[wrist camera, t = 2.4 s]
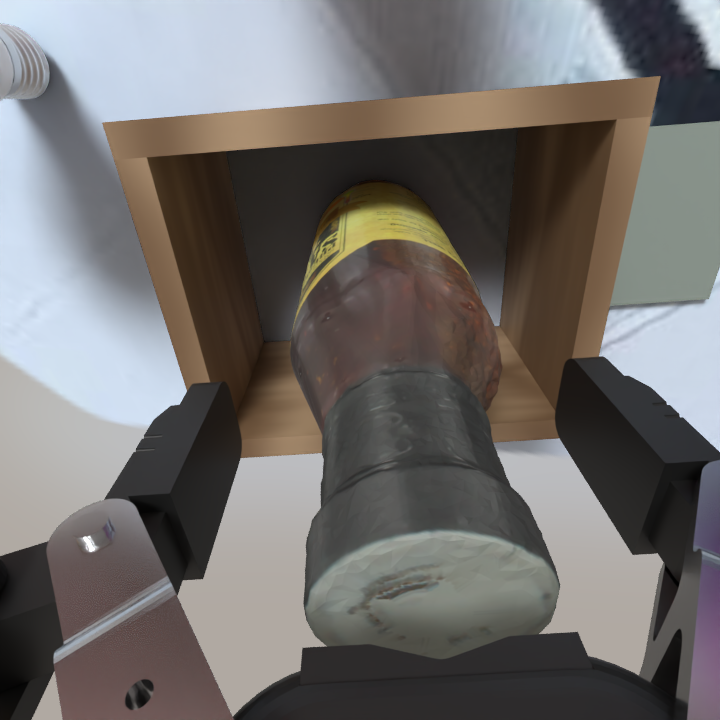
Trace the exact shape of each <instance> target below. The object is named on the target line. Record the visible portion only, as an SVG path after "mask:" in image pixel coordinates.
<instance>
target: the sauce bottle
mask: <svg viewBox="0 0 720 720" xmlns="http://www.w3.org/2000/svg"><path fill="white" fill-rule="evenodd" d="M290 358H291V364H292V368H293V372H294V374H295V376H296V379H297V381H298V383H299V385H300V388H301V390H302V392H303V394H304V396H305V399H306V401H307V403H308V405H309V407H310V409H311V411H312V414H313V416H314V418H315V420H316V422H317V425H318V427H319V429H320V431H321V434H322V455H323V458H324V466H323V479H322V482H321V509H320V510H319V511H318V513H317V514H316V516H315V517H314V519H313V520H312V523H311V528H310V531H309V534H308V537H307V542H306V554H307V555H306V568H305V592H304V609H305V615H306V620H307V622H308V624H309V626H310V628H311V629H312V631H313V633H314V635H315V636H316V637H317V638H318V639H319V640H320V641H321V642H323V643H324V644H325V645H326V646H344V645H362V644H372V645H376V646H381V647H385V648H390V649H394V650H399V651H403V652H408V653H412V654H417V655H421V656H426V657H431V658H435V659H446V658H450V657H453V656H456V655H458V654H461V653H464V652H467V651H470V650H472V649H475V648H478V647H481V646H483V645H486V644H489V643H492V642H494V641H497V640H500V639H503V638H505V637H508V636H518V635H535V634H539V633H540V632H541V631H542V630H543V629H544V628H545V627H546V626H547V625H548V624H549V623H550V622H551V619H552V616H553V614H554V611H555V608H556V602H557V598H558V595H559V589H560V583H559V579H558V576H557V572H556V568H555V566H554V564H553V561H552V559H551V556H550V555H549V552H548V549H547V546H546V544H545V542H544V540H543V538H542V533H541V531H540V530H539V528H538V526H537V524H536V521H535V520H534V517H533V515H532V513H531V510H530V508H529V506H528V505H527V504H526V502H525V501H524V500H523V498H522V497H521V496H520V495H519V494H518V493H517V492H516V491H515V490H514V489H513V488H511V486H510V483H509V481H508V479H507V477H506V475H505V472H504V468H503V466H502V464H501V462H500V459H499V457H498V455H497V452H496V449H495V447H494V444H493V439H492V436H491V426H490V422H489V419H488V416H487V414H486V411H487V410H488V409H489V407H490V406H491V402H492V400H493V398H494V397H495V395H496V394H497V392H498V385H499V380H500V375H501V372H502V367H503V366H502V363H501V353H500V350H499V346H498V337H497V334H496V331H495V328H494V324H493V322H492V320H491V317H490V316H489V314H488V312H487V310H486V308H485V306H484V305H483V303H482V301H481V297H480V294H479V291H478V289H477V287H476V285H475V283H474V281H473V279H472V278H471V276H470V274H469V272H468V271H467V269H466V267H465V266H464V264H463V262H462V261H461V259H460V257H459V256H458V254H457V253H456V251H455V249H454V248H453V246H452V244H451V243H450V241H449V239H448V237H447V236H446V234H445V232H444V230H443V229H442V227H441V225H440V224H439V222H438V221H437V219H436V217H435V216H434V214H433V212H432V210H431V209H430V207H429V206H428V205H427V204H426V203H425V202H424V201H423V200H422V199H421V198H419V197H418V195H416V194H415V193H413V192H412V191H411V190H410V189H407V188H404V187H403V186H400V185H398V184H395V183H392V182H388V181H385V180H369V181H363V182H360V183H358V184H356V185H354V186H352V187H350V188H349V189H347V190H346V191H344V192H343V193H342V194H340V195H338V196H337V197H336V198H335V199H334V200H333V201H332V202H331V203H330V205H329V206H328V208H327V209H326V210H325V212H324V213H323V215H322V217H321V219H320V221H319V224H318V227H317V230H316V235H315V239H314V242H313V247H312V251H311V255H310V258H309V262H308V265H307V269H306V274H305V277H304V281H303V285H302V290H301V295H300V299H299V304H298V307H297V313H296V317H295V321H294V325H293V329H292V334H291V342H290Z"/></svg>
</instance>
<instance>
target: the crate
mask: <svg viewBox="0 0 720 720" xmlns="http://www.w3.org/2000/svg"><path fill="white" fill-rule="evenodd" d="M659 81H660V76H658V77H646V78H634V79H622V80H609V81H597V82H585V83H573V84H561V85H549V86H537V87H525V88H513V89H501V90H489V91H477V92H465V93H453V94H441V95H429V96H417V97H405V98H393V99H381V100H369V101H357V102H345V103H333V104H321V105H309V106H297V107H285V108H273V109H261V110H249V111H237V112H225V113H213V114H200V115H188V116H176V117H164V118H152V119H140V120H128V121H116V122H104V123H102V124H103V127H104V130H105V133H106V136H107V139H108V143H109V146H110V149H111V152H112V155H113V158H114V162H115V165H116V168H117V171H118V174H119V177H120V180H121V184H122V187H123V190H124V193H125V196H126V199H127V203H128V206H129V209H130V212H131V215H132V218H133V222H134V225H135V228H136V231H137V234H138V237H139V241H140V244H141V247H142V250H143V253H144V256H145V259H146V263H147V266H148V269H149V272H150V275H151V278H152V282H153V285H154V288H155V291H156V294H157V297H158V301H159V304H160V307H161V310H162V313H163V316H164V320H165V323H166V326H167V329H168V332H169V335H170V339H171V342H172V345H173V348H174V351H175V354H176V357H177V361H178V364H179V367H180V370H181V373H182V376H183V380H184V383H185V386H186V389H187V391H188V389H189V388H190V386H191V385H192V384H194V383H207V382H222V381H225V382H226V383H227V384H228V386H229V389H230V392H231V396H232V400H233V404H234V408H235V412H236V416H237V420H238V424H239V428H240V432H241V438H242V452H241V458H247V457H264V456H279V455H296V454H311V453H312V454H313V453H322V434H321V431H320V429H319V427H318V425H317V422H316V420H315V418H314V416H313V414H312V411H311V409H310V407H309V405H308V403H307V401H306V399H305V396H304V394H303V392H302V390H301V388H300V385H299V383H298V381H297V379H296V376H295V374H294V372H293V368H292V364H291V358H290V342H291V341H277V342H264V339H263V334H262V329H261V324H260V319H259V314H258V309H257V304H256V299H255V294H254V289H253V285H252V280H251V275H250V270H249V265H248V260H247V255H246V250H245V245H244V240H243V235H242V230H241V225H240V220H239V215H238V210H237V205H236V200H235V195H234V190H233V185H232V180H231V175H230V170H229V165H228V160H227V155H226V151H232V150H244V149H257V148H269V147H281V146H294V145H306V144H318V143H331V142H343V141H356V140H368V139H380V138H393V137H405V136H418V135H430V134H442V133H455V132H467V131H479V130H492V129H504V128H517V127H518V133H517V144H516V155H515V166H514V177H513V187H512V198H511V209H510V220H509V231H508V242H507V253H506V264H505V275H504V286H503V297H502V307H501V318H500V326H495V327H494V328H495V331H496V334H497V337H498V346H499V350H500V353H501V363H502V366H503V367H502V372H501V375H500V380H499V385H498V392H497V394H496V395H495V397H494V398H493V400H492V402H491V406H490V407H489V409H488V410H487V411H486V414H487V416H488V419H489V422H490V426H491V436H492V439H493V442H508V441H524V440H540V439H556V438H559V436H558V433H557V430H556V425H555V410H556V405H557V399H558V394H559V388H560V383H561V377H562V372H563V367H564V364H565V362H566V361H567V360H568V359H572V358H586V357H599V353H600V348H601V344H602V339H603V334H604V330H605V325H606V321H607V316H608V312H609V307H610V303H611V298H612V294H613V289H614V285H615V280H616V276H617V271H618V267H619V262H620V258H621V253H622V248H623V244H624V239H625V235H626V230H627V226H628V221H629V217H630V212H631V208H632V203H633V199H634V194H635V190H636V185H637V181H638V176H639V172H640V167H641V162H642V158H643V153H644V149H645V144H646V140H647V135H648V131H649V126H650V122H651V117H652V113H653V108H654V104H655V99H656V95H657V90H658V86H659Z"/></svg>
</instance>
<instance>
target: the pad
mask: <svg viewBox="0 0 720 720" xmlns="http://www.w3.org/2000/svg"><path fill="white" fill-rule="evenodd" d="M719 267H720V121H716V122H703V123H691V124H679V125H666V126H654V127H649V131H648V135H647V140H646V144H645V149H644V153H643V158H642V162H641V167H640V172H639V176H638V181H637V185H636V190H635V194H634V199H633V203H632V208H631V212H630V217H629V221H628V226H627V230H626V235H625V239H624V244H623V248H622V253H621V258H620V262H619V267H618V271H617V276H616V280H615V285H614V289H613V294H612V298H611V303H610V306H617V305H631V304H645V303H660V302H674V301H689V300H703V299H709V297H710V294H711V291H712V288H713V285H714V282H715V279H716V276H717V273H718V270H719Z"/></svg>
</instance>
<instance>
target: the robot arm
mask: <svg viewBox="0 0 720 720" xmlns="http://www.w3.org/2000/svg"><path fill="white" fill-rule="evenodd" d="M555 425H556V430H557V433H558V436H559V438H560V440H561V441H562V443H563V445H564V446H565V448H566V449H567V451H568V453H569V454H570V456H571V457H572V459H573V460H574V462H575V464H576V465H577V467H578V468H579V470H580V472H581V473H582V475H583V476H584V478H585V480H586V481H587V483H588V484H589V486H590V488H591V489H592V491H593V492H594V494H595V496H596V497H597V499H598V500H599V502H600V504H601V505H602V507H603V508H604V510H605V511H606V513H607V514H608V516H609V518H610V519H611V521H612V523H613V524H614V526H615V527H616V529H617V531H618V532H619V534H620V535H621V537H622V539H623V540H624V542H625V543H626V545H627V546H628V548H629V550H630V551H631V553H632V554H633V555H638V554H654V553H658V554H659V556H660V557H661V559H662V560H663V562H664V563H663V566H662V568H661V571H660V573H659V579H658V584H657V590H656V596H655V601H654V607H653V613H652V618H651V624H650V630H649V635H648V641H647V647H646V652H645V657H644V661H643V664H642V668H641V671H640V674H639V676H638V675H637V674H635V673H633V672H631V671H629V670H626V669H624V668H622V667H620V666H617V665H615V664H612V663H609V662H606V661H603V660H600V659H597V658H594V657H589V656H588V655H587V653H586V651H585V648H584V646H583V644H582V641H581V639H580V636H579V634H578V632H570V633H553V634H535V635H518V636H508V637H505V638H503V639H500V640H497V641H494V642H492V643H489V644H486V645H483V646H481V647H478V648H475V649H472V650H470V651H467V652H464V653H461V654H458V655H456V656H453V657H450V658H446V659H435V658H431V657H426V656H421V655H417V654H412V653H408V652H403V651H399V650H394V649H390V648H385V647H381V646H376V645H372V644H362V645H344V646H327V647H310V648H303V650H302V661H301V671H299V672H296V673H294V674H291V675H289V676H287V677H285V678H283V679H281V680H279V681H277V682H275V683H273V684H272V685H270V686H269V687H267V688H266V689H264V690H263V691H261V692H260V693H258V694H257V695H256V696H255V697H254V698H252V699H251V700H250V701H249V702H248V703H246V704H245V705H244V706H243V707H242V708H241V709H240V710H239V711H238V712H237V713H236V714H235V715H234V716H233V717H232V714H231V712H230V710H229V708H228V706H227V703H226V701H225V699H224V697H223V695H222V693H221V690H220V688H219V686H218V684H217V682H216V680H215V677H214V675H213V673H212V671H211V669H210V666H209V664H208V662H207V660H206V658H205V656H204V653H203V651H202V649H201V647H200V645H199V643H198V640H197V638H196V636H195V634H194V632H193V629H192V627H191V625H190V623H189V621H188V619H187V616H186V615H185V612H184V610H183V608H182V606H181V603H180V601H179V599H178V597H177V595H178V592H179V589H180V586H181V583H182V581H183V580H195V579H203V577H204V574H205V571H206V568H207V564H208V561H209V558H210V555H211V552H212V548H213V545H214V542H215V539H216V536H217V532H218V529H219V526H220V523H221V519H222V516H223V513H224V509H225V506H226V503H227V500H228V497H229V493H230V490H231V487H232V484H233V481H234V478H235V474H236V471H237V468H238V464H239V461H240V458H241V452H242V438H241V432H240V428H239V424H238V420H237V416H236V412H235V408H234V404H233V400H232V396H231V392H230V389H229V386H228V384H227V383H226V382H225V381H222V382H207V383H194V384H192V385H191V386H190V388H189V389H188V391H187V393H186V395H185V396H184V398H183V400H182V402H181V403H180V405H174V406H170V407H169V408H168V409H166V410H165V411H164V412H163V413H162V414H160V415H159V416H158V417H157V418H155V419H154V420H153V422H152V424H151V425H150V427H149V428H148V430H147V432H146V433H145V435H144V439H142V440H141V441H140V443H139V445H138V446H137V448H136V452H134V453H133V454H132V456H131V458H130V459H129V461H128V462H127V464H126V465H125V467H124V469H123V470H122V472H121V473H120V475H119V477H118V478H117V480H116V481H115V483H114V485H113V486H112V488H111V489H110V491H109V493H108V494H107V496H106V497H105V499H104V500H102V501H98V502H95V503H92V504H90V505H88V506H85V507H83V508H82V509H80V510H78V511H76V512H75V513H73V514H72V515H70V516H69V517H68V518H67V519H65V520H64V521H63V522H62V523H61V524H60V525H59V526H58V527H57V528H56V530H55V531H54V532H53V534H52V535H51V537H50V539H49V541H48V542H45V543H42V544H38V545H35V546H32V547H29V548H25V549H22V550H19V551H15V552H12V553H9V554H6V555H3V556H0V720H31V719H32V717H33V715H34V713H35V710H36V709H37V706H38V704H39V702H40V700H41V698H42V696H43V694H44V691H45V689H46V687H47V685H48V683H49V681H50V679H51V677H52V675H53V672H54V671H55V675H56V682H57V688H58V694H59V700H60V706H61V712H62V717H63V720H720V452H719V451H718V450H717V449H716V448H715V447H714V446H713V445H711V444H710V443H709V442H708V441H707V440H706V439H705V438H704V437H703V436H702V435H701V434H700V433H699V432H698V431H697V430H696V429H694V428H693V427H692V426H691V425H690V424H689V423H688V422H687V421H686V420H685V419H684V418H680V417H679V413H677V412H676V411H675V410H674V409H673V408H672V407H671V406H670V405H667V404H666V401H665V400H664V399H663V398H662V397H660V396H659V395H658V394H657V393H656V392H655V391H654V390H653V389H652V388H651V387H649V386H647V385H645V384H643V383H641V382H639V381H638V380H636V379H634V378H632V377H630V376H624V375H623V374H622V373H621V372H620V371H619V370H618V369H616V368H615V367H614V366H613V365H612V364H611V363H610V362H609V361H608V360H607V359H606V358H605V357H586V358H572V359H568V360H567V361H566V362H565V364H564V367H563V372H562V377H561V383H560V388H559V394H558V399H557V405H556V410H555Z"/></svg>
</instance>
